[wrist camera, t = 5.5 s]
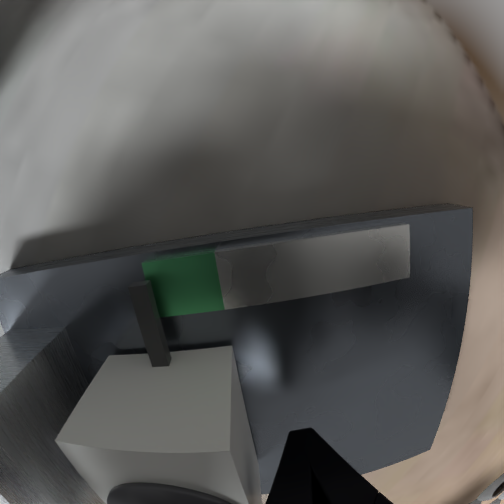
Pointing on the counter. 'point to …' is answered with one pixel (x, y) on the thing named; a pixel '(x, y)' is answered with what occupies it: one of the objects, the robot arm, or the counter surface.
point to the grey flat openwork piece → (492, 492)
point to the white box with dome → (164, 424)
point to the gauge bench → (250, 335)
